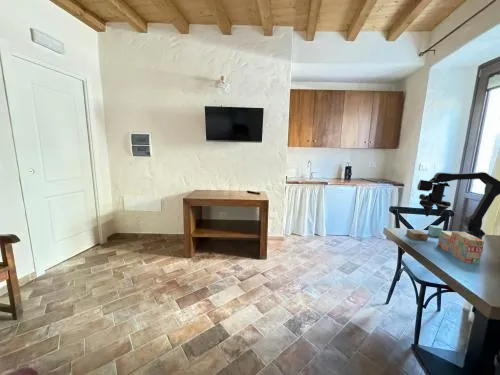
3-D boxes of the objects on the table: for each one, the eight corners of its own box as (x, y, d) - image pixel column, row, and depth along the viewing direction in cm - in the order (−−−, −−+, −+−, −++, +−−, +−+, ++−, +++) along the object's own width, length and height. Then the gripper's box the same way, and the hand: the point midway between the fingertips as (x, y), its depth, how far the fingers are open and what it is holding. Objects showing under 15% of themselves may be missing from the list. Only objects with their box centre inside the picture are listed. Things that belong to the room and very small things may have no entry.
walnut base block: (420, 236, 142) (421, 230, 141) (427, 241, 134) (428, 234, 133) (406, 234, 143) (407, 229, 143) (412, 239, 136) (413, 233, 135)
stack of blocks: (437, 245, 127) (440, 225, 125) (449, 246, 126) (453, 226, 124) (464, 263, 106) (469, 239, 105) (479, 264, 105) (484, 240, 103)
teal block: (436, 234, 145) (438, 225, 145) (441, 237, 141) (442, 228, 140) (427, 233, 147) (429, 225, 146) (431, 236, 142) (433, 227, 141)
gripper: (435, 190, 146) (430, 212, 149) (413, 189, 142) (408, 212, 144) (454, 193, 136) (448, 217, 138) (431, 193, 131) (425, 217, 134)
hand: (432, 216), depth 139 cm, fingers open, 9 cm apart
